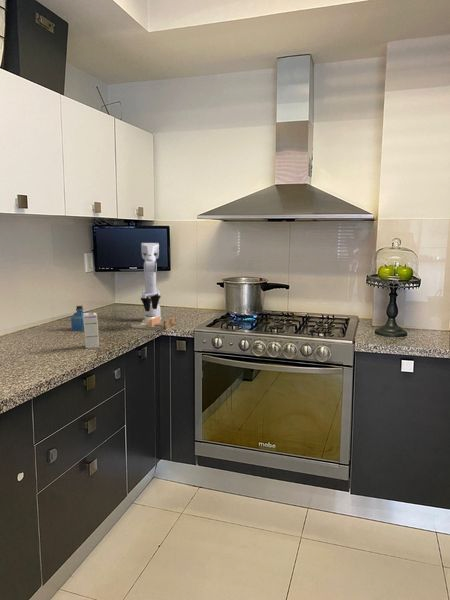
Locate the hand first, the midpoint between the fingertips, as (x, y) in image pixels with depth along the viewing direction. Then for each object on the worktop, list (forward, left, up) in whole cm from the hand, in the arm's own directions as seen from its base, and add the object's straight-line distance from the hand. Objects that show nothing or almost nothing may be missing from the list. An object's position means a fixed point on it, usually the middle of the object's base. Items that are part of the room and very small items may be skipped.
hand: (151, 310), depth 238 cm
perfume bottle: (+19, -30, -9) cm, 37 cm away
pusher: (0, +4, -9) cm, 10 cm away
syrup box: (+46, -3, -9) cm, 47 cm away
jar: (0, -1, -9) cm, 9 cm away
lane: (0, +2, -9) cm, 9 cm away
